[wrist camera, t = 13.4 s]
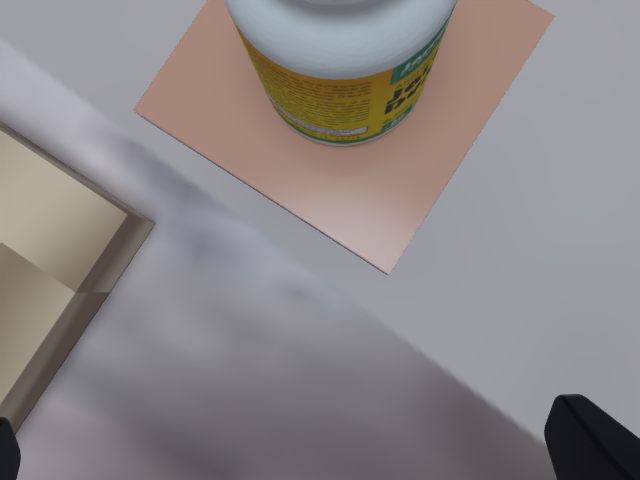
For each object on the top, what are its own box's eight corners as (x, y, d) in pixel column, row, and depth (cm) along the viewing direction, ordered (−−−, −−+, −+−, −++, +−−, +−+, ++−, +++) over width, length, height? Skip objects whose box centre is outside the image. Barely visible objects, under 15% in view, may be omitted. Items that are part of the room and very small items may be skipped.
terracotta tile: (546, 27, 20) (555, 15, 19) (387, 275, 19) (389, 274, 18) (299, -118, 20) (297, -134, 20) (141, 117, 20) (132, 109, 19)
